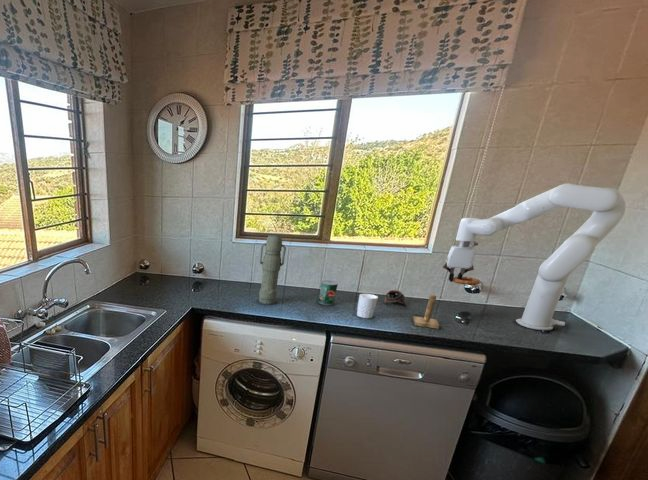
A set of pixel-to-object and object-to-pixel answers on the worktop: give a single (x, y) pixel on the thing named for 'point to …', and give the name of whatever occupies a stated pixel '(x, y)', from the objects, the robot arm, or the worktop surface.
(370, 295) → the white cup
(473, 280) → the ring
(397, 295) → the brown domed piece
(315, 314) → the worktop surface
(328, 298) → the canned tomato
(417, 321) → the stand
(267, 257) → the grey stone vase
